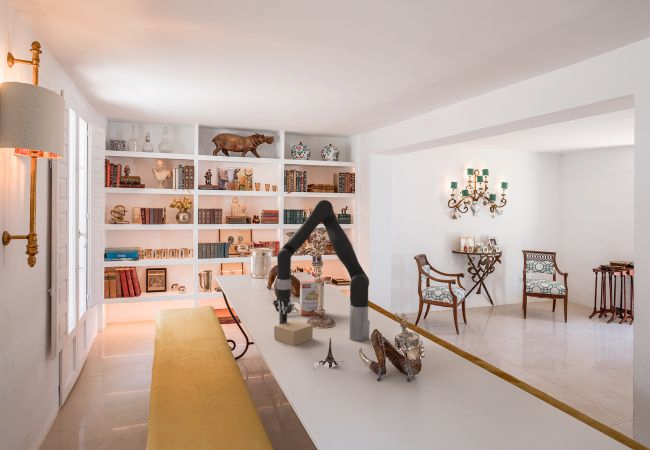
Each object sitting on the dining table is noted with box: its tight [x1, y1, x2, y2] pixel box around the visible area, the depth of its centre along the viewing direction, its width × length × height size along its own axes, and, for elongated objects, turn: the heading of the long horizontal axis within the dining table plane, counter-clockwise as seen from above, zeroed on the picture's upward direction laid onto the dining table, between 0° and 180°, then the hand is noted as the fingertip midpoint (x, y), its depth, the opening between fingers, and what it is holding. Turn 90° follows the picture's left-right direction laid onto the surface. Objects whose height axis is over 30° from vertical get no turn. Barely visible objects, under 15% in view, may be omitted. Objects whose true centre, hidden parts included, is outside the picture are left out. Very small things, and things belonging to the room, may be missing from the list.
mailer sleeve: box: [274, 319, 314, 346], centre depth 215 cm, size 13×14×7 cm
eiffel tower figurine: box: [319, 337, 339, 369], centre depth 183 cm, size 15×10×13 cm
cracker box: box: [299, 279, 325, 317], centre depth 262 cm, size 14×6×21 cm, turn 105°
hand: (283, 320), depth 220 cm, fingers closed
